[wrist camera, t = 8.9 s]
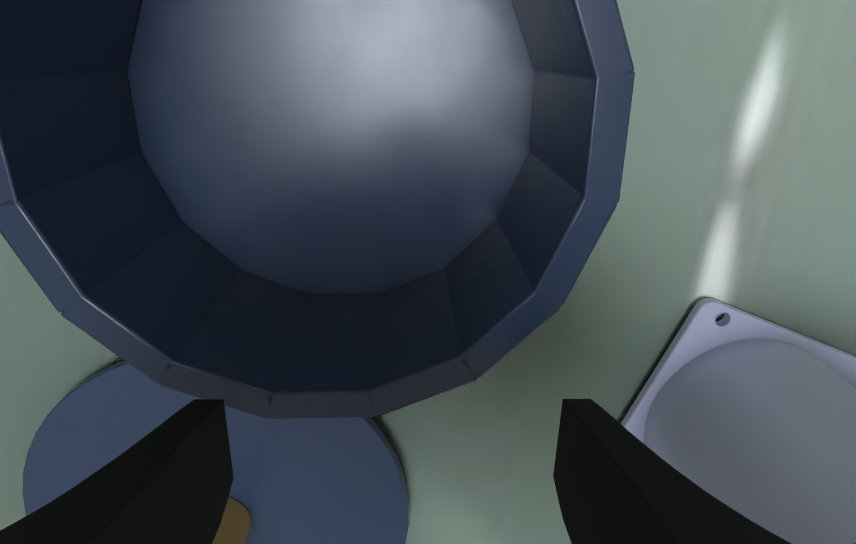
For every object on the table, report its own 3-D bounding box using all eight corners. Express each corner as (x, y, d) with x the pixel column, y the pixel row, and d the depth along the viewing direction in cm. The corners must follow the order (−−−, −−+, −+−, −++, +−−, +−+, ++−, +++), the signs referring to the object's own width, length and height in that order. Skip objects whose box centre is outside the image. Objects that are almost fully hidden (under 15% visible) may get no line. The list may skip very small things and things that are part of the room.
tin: (634, -20, 17) (763, -61, 11) (450, 358, 21) (467, 483, 15) (171, -251, 14) (0, -472, 8) (73, 226, 19) (-87, 309, 13)
